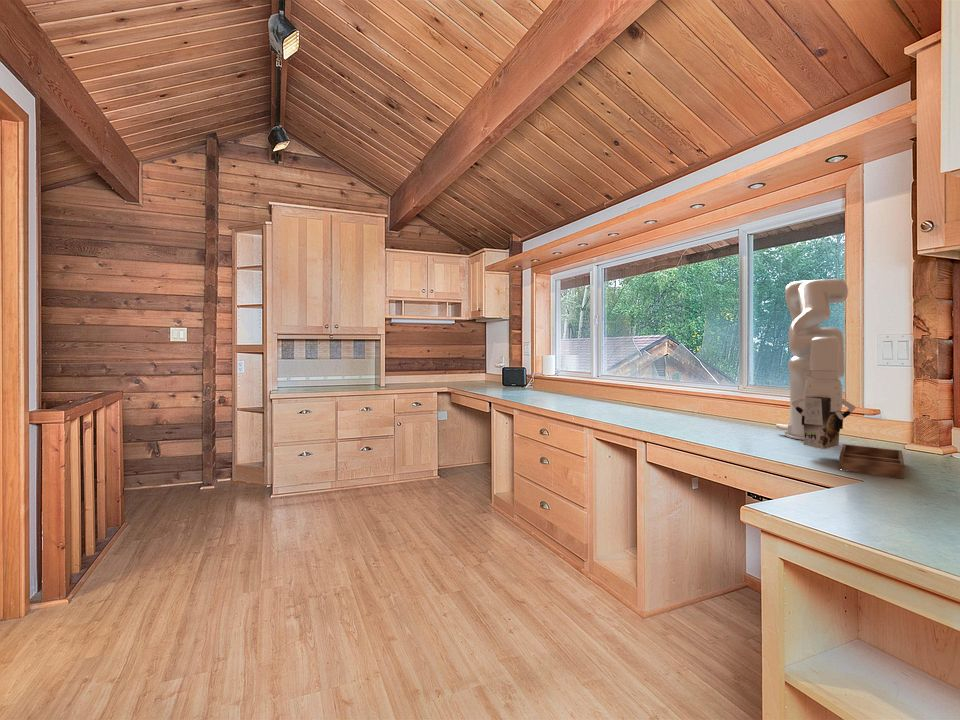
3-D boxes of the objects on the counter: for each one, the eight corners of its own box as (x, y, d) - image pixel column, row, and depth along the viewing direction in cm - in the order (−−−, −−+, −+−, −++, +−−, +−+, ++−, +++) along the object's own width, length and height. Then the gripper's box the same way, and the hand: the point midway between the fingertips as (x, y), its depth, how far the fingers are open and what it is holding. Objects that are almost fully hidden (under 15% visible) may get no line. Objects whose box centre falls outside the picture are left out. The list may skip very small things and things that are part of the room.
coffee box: (824, 449, 154) (826, 398, 153) (802, 445, 160) (804, 396, 158) (839, 445, 158) (842, 395, 157) (818, 441, 164) (820, 393, 163)
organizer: (838, 470, 146) (839, 456, 146) (842, 456, 162) (843, 444, 161) (903, 479, 137) (904, 464, 137) (901, 463, 152) (901, 450, 152)
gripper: (790, 375, 160) (788, 428, 161) (857, 378, 149) (855, 435, 150) (793, 372, 165) (791, 423, 167) (858, 375, 155) (856, 430, 156)
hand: (821, 429), depth 159 cm, fingers closed on coffee box, 8 cm apart
